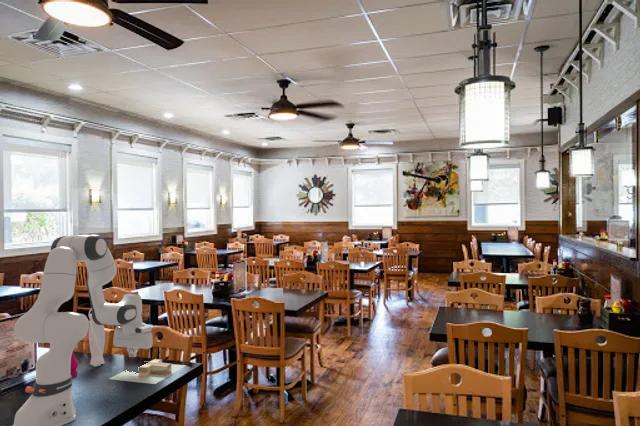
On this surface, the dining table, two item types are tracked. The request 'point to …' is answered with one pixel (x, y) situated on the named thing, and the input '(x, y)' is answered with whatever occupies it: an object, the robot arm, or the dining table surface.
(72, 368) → the pepper mill
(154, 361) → the T block
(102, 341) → the skyscraper
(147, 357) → the dining table surface
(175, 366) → the mat
